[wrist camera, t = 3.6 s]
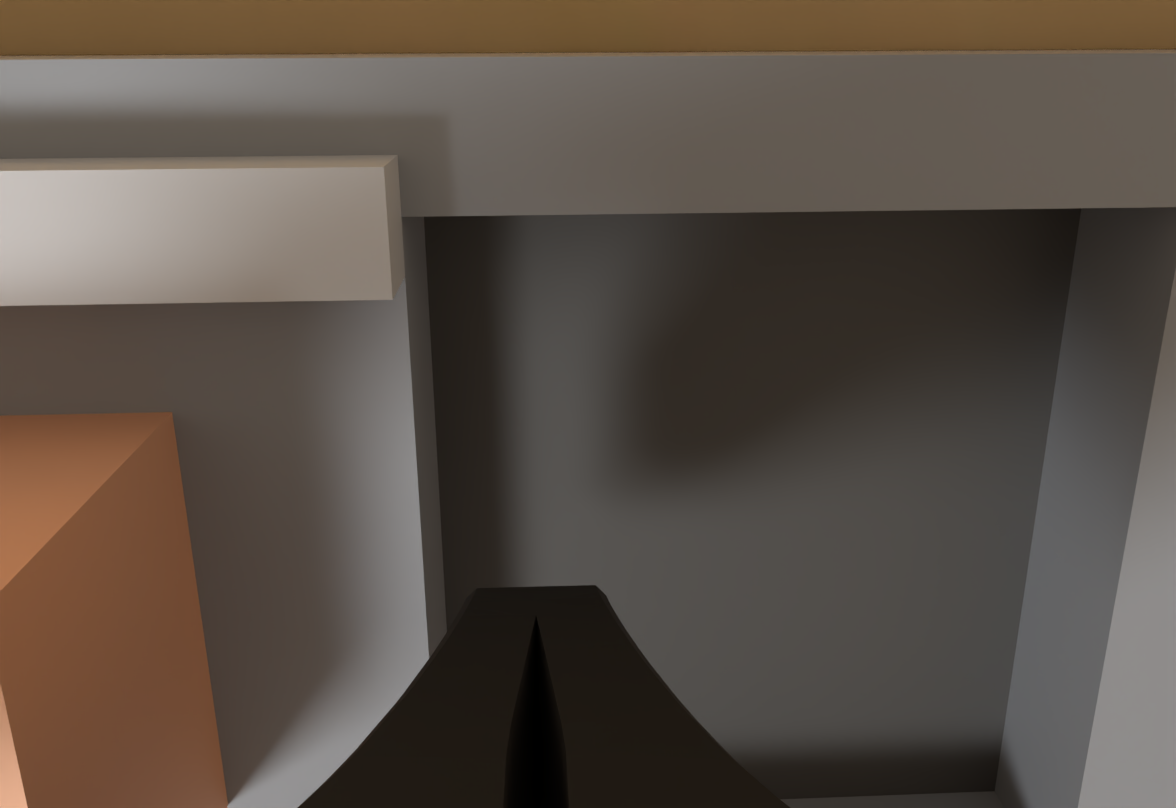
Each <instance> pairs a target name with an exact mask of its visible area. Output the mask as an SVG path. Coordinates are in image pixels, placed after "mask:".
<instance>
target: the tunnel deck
mask: <svg viewBox="0 0 1176 808" xmlns="http://www.w3.org/2000/svg"><path fill="white" fill-rule="evenodd" d="M152 412H172V415H173V422H174V429H175V436H176V443H177V450H178V457H179V464H180V471H181V478H182V485H183V492H184V499H185V506H186V513H187V520H188V527H189V534H190V541H191V548H192V555H193V562H194V569H195V576H196V583H197V590H198V597H199V604H200V611H201V618H202V625H203V632H204V639H205V646H206V653H207V660H208V667H209V674H210V681H211V688H212V695H213V702H214V709H215V716H216V723H217V730H218V737H219V744H220V751H221V758H222V765H223V772H224V779H225V786H226V793H227V800H228V806H227V808H298V807H299V806H300V805H301V804H302V803H303V802H304V801H305V800H306V799H307V798H308V797H309V796H310V795H311V794H313V793H314V792H315V791H316V790H317V789H318V788H319V787H320V786H321V785H322V784H323V783H324V782H325V781H326V780H327V779H328V778H329V777H330V776H331V775H332V774H333V773H334V772H335V771H336V770H337V769H338V768H339V767H340V766H341V765H342V764H343V763H344V762H345V761H346V759H347V758H348V757H349V756H350V755H351V754H352V753H353V752H354V751H355V750H356V749H357V748H358V747H359V745H360V744H361V743H362V742H363V741H364V740H365V738H366V737H367V736H368V735H369V734H370V733H371V731H372V730H373V729H374V728H375V727H376V726H377V724H378V723H379V722H380V721H381V720H382V719H383V717H384V716H385V715H386V714H387V713H388V712H389V710H390V709H391V708H392V707H393V706H394V705H395V703H396V702H397V701H398V700H399V698H400V697H401V696H402V695H403V693H404V692H405V691H406V689H407V688H408V687H409V685H410V684H411V682H412V681H413V680H414V678H415V677H416V676H417V674H418V673H419V672H420V670H421V669H422V668H423V666H424V665H425V664H426V662H427V661H428V659H429V658H430V657H431V655H432V654H433V652H434V651H435V649H436V648H437V646H438V645H439V643H440V642H441V640H442V639H443V637H444V636H445V634H446V633H447V631H448V630H449V628H450V626H451V625H452V623H453V621H454V620H455V618H456V616H457V615H458V613H459V611H460V609H461V608H462V606H463V604H464V602H465V600H466V598H467V597H468V596H469V595H470V594H471V593H472V592H473V591H474V590H475V589H476V588H500V587H539V586H578V585H596V586H597V587H598V588H599V589H600V590H601V591H602V592H603V593H604V594H605V595H606V596H607V598H608V600H609V602H610V604H611V606H612V608H613V609H614V611H615V613H616V614H617V616H618V618H619V619H620V621H621V623H622V624H623V626H624V627H625V629H626V630H627V632H628V633H629V635H630V636H631V638H632V639H633V641H634V642H635V643H636V645H637V646H638V648H639V649H640V651H641V652H642V653H643V655H644V656H645V657H646V659H647V660H648V662H649V663H650V664H651V665H652V667H653V668H654V669H655V670H656V672H657V673H658V674H659V675H660V677H661V678H662V679H663V680H664V682H665V683H666V684H667V686H668V687H669V688H670V689H671V691H672V692H673V693H674V694H675V696H676V697H677V698H678V699H679V700H680V701H681V703H682V704H683V705H684V706H685V707H686V708H687V709H688V711H689V712H690V713H691V714H692V715H693V716H694V717H695V719H696V720H697V721H698V722H699V723H700V724H701V725H702V726H703V727H704V728H705V729H706V730H707V731H708V732H709V733H710V735H711V736H712V737H713V738H714V739H715V740H716V741H717V742H718V743H719V744H720V745H721V746H722V747H723V748H724V749H725V750H726V751H727V752H728V753H729V754H730V755H731V756H732V757H733V758H734V759H735V760H736V761H737V762H738V763H739V764H740V765H741V766H742V767H743V768H744V769H745V770H747V771H748V772H749V773H750V774H751V775H752V776H753V777H754V778H756V779H757V780H758V781H759V782H760V783H761V784H762V785H764V786H765V787H766V788H767V789H768V790H769V791H771V792H772V793H773V794H774V795H775V796H776V797H778V798H779V799H780V800H781V801H783V802H784V803H785V804H786V805H788V806H789V807H790V808H1176V49H1141V50H960V51H778V52H597V53H416V54H235V55H53V56H0V416H6V415H55V414H103V413H152Z"/></svg>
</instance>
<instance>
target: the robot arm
mask: <svg viewBox="0 0 1176 808" xmlns="http://www.w3.org/2000/svg"><path fill="white" fill-rule="evenodd" d="M298 808H790V807H789V806H788V805H786V804H785V803H784V802H783V801H781V800H780V799H779V798H778V797H776V796H775V795H774V794H773V793H772V792H771V791H769V790H768V789H767V788H766V787H765V786H764V785H762V784H761V783H760V782H759V781H758V780H757V779H756V778H754V777H753V776H752V775H751V774H750V773H749V772H748V771H747V770H745V769H744V768H743V767H742V766H741V765H740V764H739V763H738V762H737V761H736V760H735V759H734V758H733V757H732V756H731V755H730V754H729V753H728V752H727V751H726V750H725V749H724V748H723V747H722V746H721V745H720V744H719V743H718V742H717V741H716V740H715V739H714V738H713V737H712V736H711V735H710V733H709V732H708V731H707V730H706V729H705V728H704V727H703V726H702V725H701V724H700V723H699V722H698V721H697V720H696V719H695V717H694V716H693V715H692V714H691V713H690V712H689V711H688V709H687V708H686V707H685V706H684V705H683V704H682V703H681V701H680V700H679V699H678V698H677V697H676V696H675V694H674V693H673V692H672V691H671V689H670V688H669V687H668V686H667V684H666V683H665V682H664V680H663V679H662V678H661V677H660V675H659V674H658V673H657V672H656V670H655V669H654V668H653V667H652V665H651V664H650V663H649V662H648V660H647V659H646V657H645V656H644V655H643V653H642V652H641V651H640V649H639V648H638V646H637V645H636V643H635V642H634V641H633V639H632V638H631V636H630V635H629V633H628V632H627V630H626V629H625V627H624V626H623V624H622V623H621V621H620V619H619V618H618V616H617V614H616V613H615V611H614V609H613V608H612V606H611V604H610V602H609V600H608V598H607V596H606V595H605V594H604V593H603V592H602V591H601V590H600V589H599V588H598V587H597V586H596V585H578V586H539V587H500V588H476V589H475V590H474V591H473V592H472V593H471V594H470V595H469V596H468V597H467V598H466V600H465V602H464V604H463V606H462V608H461V609H460V611H459V613H458V615H457V616H456V618H455V620H454V621H453V623H452V625H451V626H450V628H449V630H448V631H447V633H446V634H445V636H444V637H443V639H442V640H441V642H440V643H439V645H438V646H437V648H436V649H435V651H434V652H433V654H432V655H431V657H430V658H429V659H428V661H427V662H426V664H425V665H424V666H423V668H422V669H421V670H420V672H419V673H418V674H417V676H416V677H415V678H414V680H413V681H412V682H411V684H410V685H409V687H408V688H407V689H406V691H405V692H404V693H403V695H402V696H401V697H400V698H399V700H398V701H397V702H396V703H395V705H394V706H393V707H392V708H391V709H390V710H389V712H388V713H387V714H386V715H385V716H384V717H383V719H382V720H381V721H380V722H379V723H378V724H377V726H376V727H375V728H374V729H373V730H372V731H371V733H370V734H369V735H368V736H367V737H366V738H365V740H364V741H363V742H362V743H361V744H360V745H359V747H358V748H357V749H356V750H355V751H354V752H353V753H352V754H351V755H350V756H349V757H348V758H347V759H346V761H345V762H344V763H343V764H342V765H341V766H340V767H339V768H338V769H337V770H336V771H335V772H334V773H333V774H332V775H331V776H330V777H329V778H328V779H327V780H326V781H325V782H324V783H323V784H322V785H321V786H320V787H319V788H318V789H317V790H316V791H315V792H314V793H313V794H311V795H310V796H309V797H308V798H307V799H306V800H305V801H304V802H303V803H302V804H301V805H300V806H299V807H298Z"/></svg>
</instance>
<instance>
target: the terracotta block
mask: <svg viewBox="0 0 1176 808" xmlns="http://www.w3.org/2000/svg"><path fill="white" fill-rule="evenodd" d="M227 806H228V800H227V793H226V786H225V779H224V772H223V765H222V758H221V751H220V744H219V737H218V730H217V723H216V716H215V709H214V702H213V695H212V688H211V681H210V674H209V667H208V660H207V653H206V646H205V639H204V632H203V625H202V618H201V611H200V604H199V597H198V590H197V583H196V576H195V569H194V562H193V555H192V548H191V541H190V534H189V527H188V520H187V513H186V506H185V499H184V492H183V485H182V478H181V471H180V464H179V457H178V450H177V443H176V436H175V429H174V422H173V415H172V412H152V413H103V414H55V415H6V416H0V808H227Z"/></svg>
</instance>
